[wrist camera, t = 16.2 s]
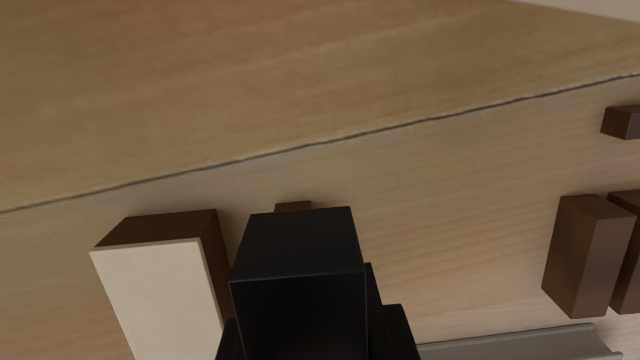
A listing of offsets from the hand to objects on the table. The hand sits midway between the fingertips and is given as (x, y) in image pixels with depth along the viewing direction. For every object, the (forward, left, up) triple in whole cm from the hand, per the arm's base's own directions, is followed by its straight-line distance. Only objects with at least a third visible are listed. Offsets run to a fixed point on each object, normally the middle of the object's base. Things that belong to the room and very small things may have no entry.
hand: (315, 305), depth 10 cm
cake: (+10, -13, -17) cm, 23 cm away
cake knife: (+5, 0, -1) cm, 5 cm away
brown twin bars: (+8, +25, -17) cm, 31 cm away
